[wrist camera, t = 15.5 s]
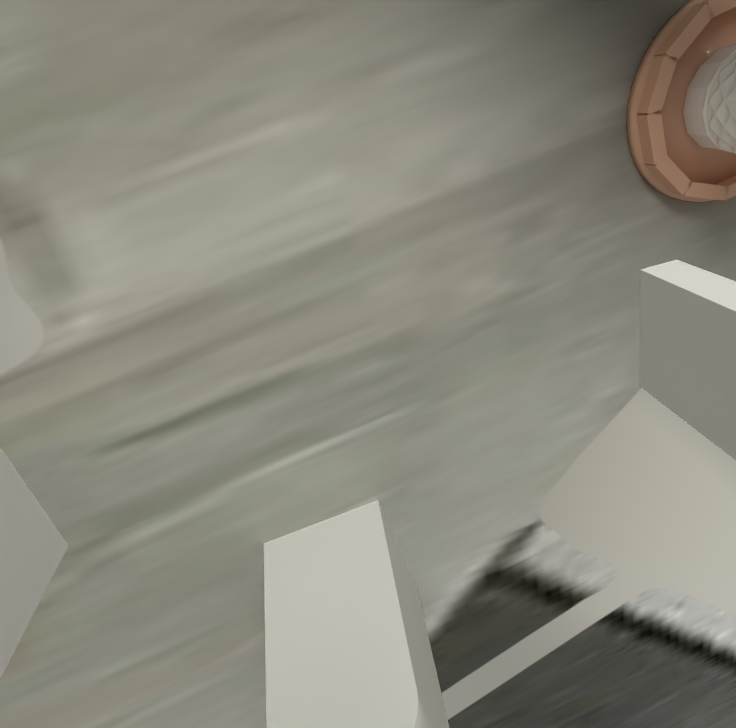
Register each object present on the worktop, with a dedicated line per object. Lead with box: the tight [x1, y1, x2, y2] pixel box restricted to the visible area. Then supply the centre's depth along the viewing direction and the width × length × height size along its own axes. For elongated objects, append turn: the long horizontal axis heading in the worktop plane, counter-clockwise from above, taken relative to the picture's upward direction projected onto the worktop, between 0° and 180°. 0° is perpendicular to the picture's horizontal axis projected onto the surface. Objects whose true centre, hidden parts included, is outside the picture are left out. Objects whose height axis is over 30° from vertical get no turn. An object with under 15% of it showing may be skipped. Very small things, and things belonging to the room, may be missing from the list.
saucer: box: [627, 0, 736, 202], centre depth 36 cm, size 14×14×2 cm
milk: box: [264, 500, 449, 728], centre depth 40 cm, size 12×12×26 cm
